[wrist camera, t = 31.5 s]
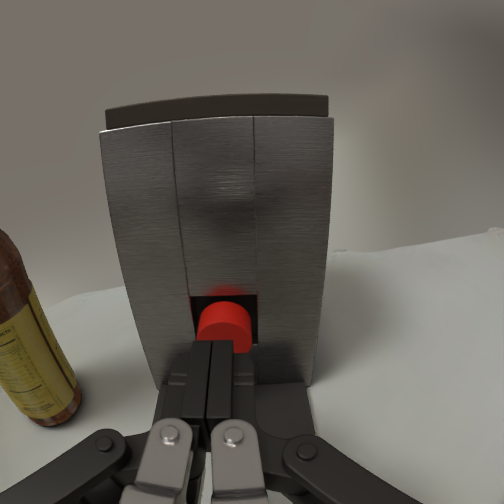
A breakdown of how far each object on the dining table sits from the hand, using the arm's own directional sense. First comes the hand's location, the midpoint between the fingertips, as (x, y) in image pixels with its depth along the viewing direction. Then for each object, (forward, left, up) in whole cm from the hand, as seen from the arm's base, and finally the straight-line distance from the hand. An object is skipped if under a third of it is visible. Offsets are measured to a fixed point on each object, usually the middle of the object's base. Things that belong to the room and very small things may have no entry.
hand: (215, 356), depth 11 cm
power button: (-3, +5, -5) cm, 8 cm away
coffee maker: (-6, +9, -11) cm, 15 cm away
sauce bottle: (-15, -5, -11) cm, 19 cm away
